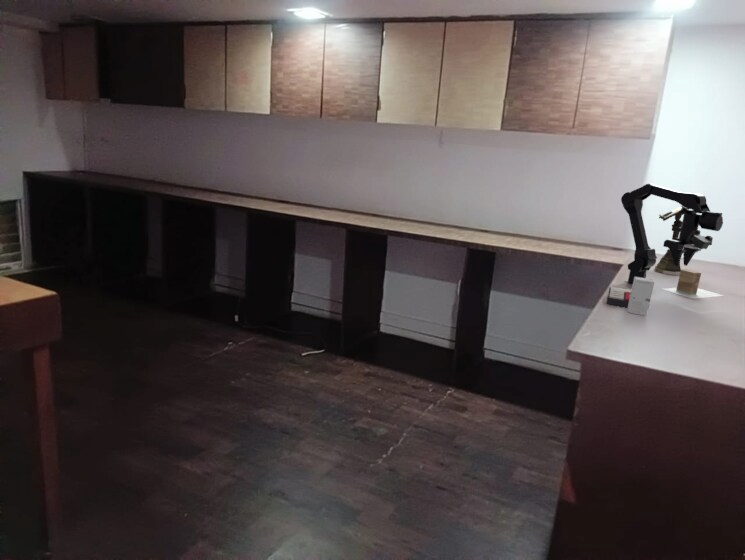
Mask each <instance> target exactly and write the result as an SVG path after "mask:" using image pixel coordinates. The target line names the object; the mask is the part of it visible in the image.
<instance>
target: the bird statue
mask: <svg viewBox="0 0 745 560" xmlns="http://www.w3.org/2000/svg"><path fill="white" fill-rule="evenodd" d="M683 208H684V206H682V205H680V207H677V208H675V209H674V210H668V211H667V212H665V213H662V214H661V213H659V214H658V216H659V217H658V219H661V220H662V221H663V222H665V221H668V219H670V218H673V217H674V219H675V221H673V223H672V224H671V231H672V236H671V240H676V238H679V235H680V231H679V230H678V228H681V226H682V221H683V220H681V218H682V216H684V214H683V213H679V211H680V210H682V209H683ZM688 209H689V208H688ZM689 210H690V209H689ZM654 266H655V267H654V272H656V273H657V272H658V273H661V274H664V275H670V276H680V272H681V270H682V268H681V261H680V262H679V265H678V266H675V264H674V260H673V257H672V254H671V251H670V249H669V248H668V249H667V250H666V252H665V254H664V255H663V256H662V257H661V258H660V260H659V261H658V263H657V264H656V265H654Z"/></svg>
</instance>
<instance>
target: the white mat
mask: <svg viewBox="0 0 745 560" xmlns="http://www.w3.org/2000/svg"><path fill="white" fill-rule="evenodd" d="M662 290H663V291H667V292H670V293H673V294H677V295H679V296H682V297H686V298H689V299H692V300H695V299H705V298H716V297H717V298H718V297H724V295H723V294H719V293H718V292H717V293H716V292H712V291H710V290H706V289H702V288H699V287H698V289H697V293H696V295H688V294H684V293H681V292H678V291H676V290H677V287H669V288H666V287H664V288H662Z"/></svg>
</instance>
